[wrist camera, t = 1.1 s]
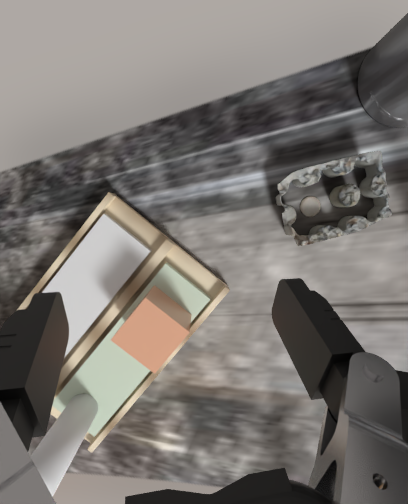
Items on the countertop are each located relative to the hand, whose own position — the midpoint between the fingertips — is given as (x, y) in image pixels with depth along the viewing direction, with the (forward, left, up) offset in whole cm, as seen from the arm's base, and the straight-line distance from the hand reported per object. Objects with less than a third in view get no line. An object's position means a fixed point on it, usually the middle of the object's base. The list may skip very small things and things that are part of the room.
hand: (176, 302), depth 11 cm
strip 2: (+13, +2, -21) cm, 25 cm away
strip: (+13, -6, -21) cm, 25 cm away
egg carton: (-13, +8, -23) cm, 27 cm away
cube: (+8, +2, -20) cm, 21 cm away
